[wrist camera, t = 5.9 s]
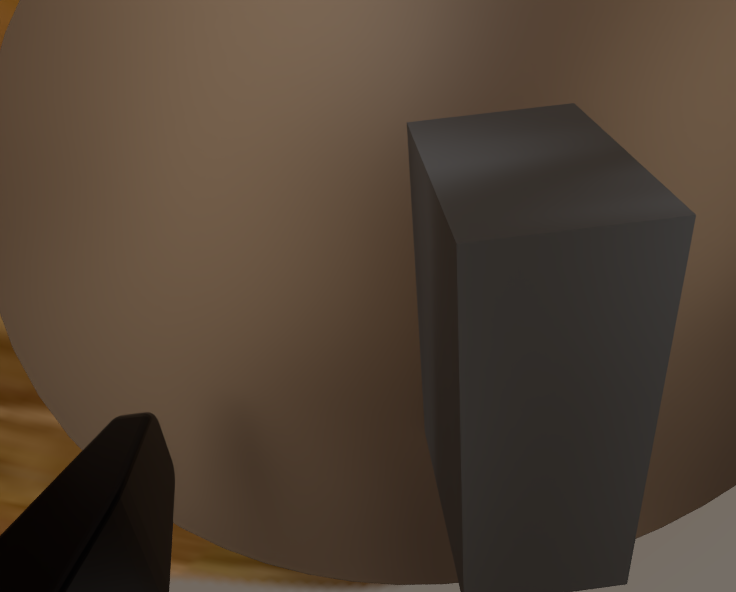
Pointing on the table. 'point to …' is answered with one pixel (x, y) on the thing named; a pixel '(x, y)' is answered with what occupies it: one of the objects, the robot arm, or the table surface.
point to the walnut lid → (386, 269)
